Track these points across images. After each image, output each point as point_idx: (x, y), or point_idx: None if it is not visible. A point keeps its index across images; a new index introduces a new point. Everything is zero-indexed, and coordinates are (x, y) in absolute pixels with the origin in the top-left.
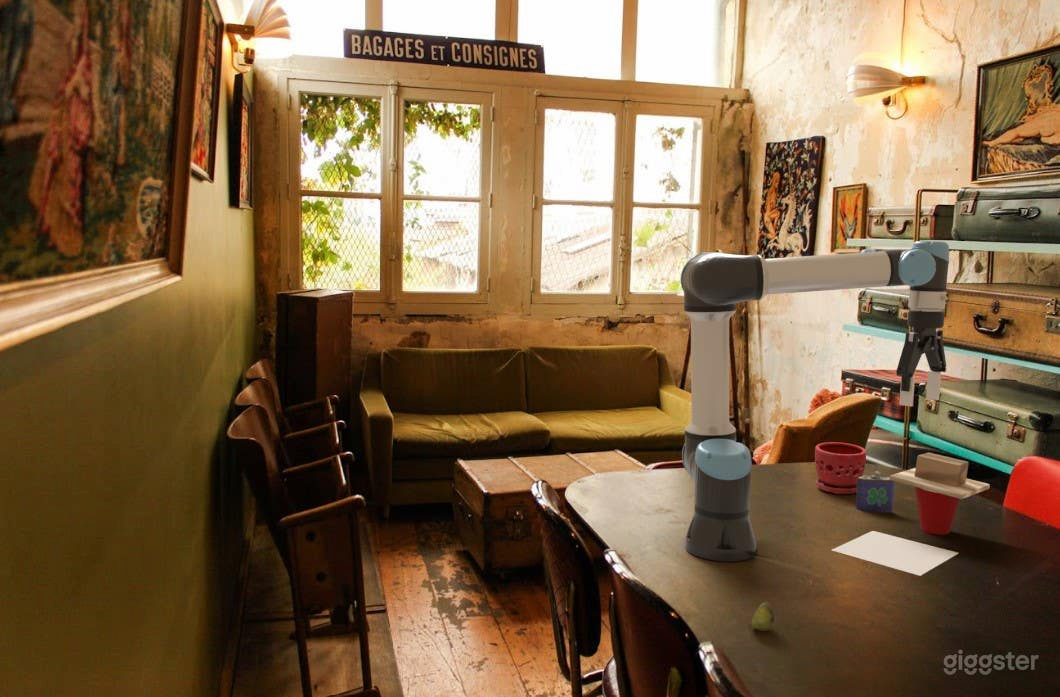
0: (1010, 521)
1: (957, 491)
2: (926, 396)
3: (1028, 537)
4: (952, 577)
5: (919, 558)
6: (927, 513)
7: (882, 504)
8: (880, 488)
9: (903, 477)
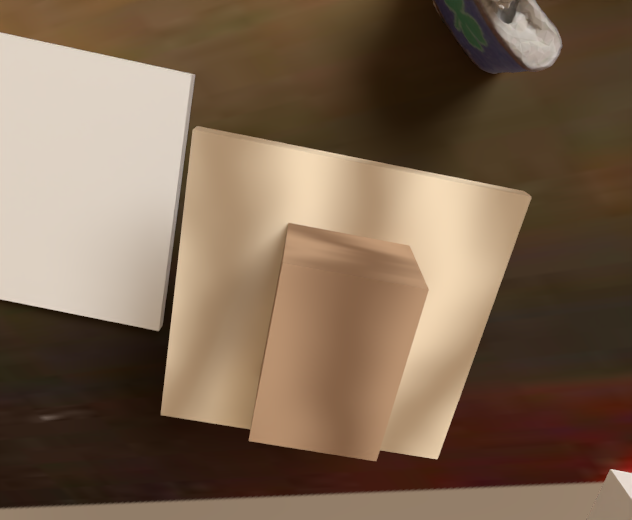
0: (597, 395)
1: (193, 395)
2: (621, 493)
3: (458, 444)
4: (4, 334)
5: (35, 254)
6: None
7: (464, 36)
8: (474, 20)
9: (215, 189)
